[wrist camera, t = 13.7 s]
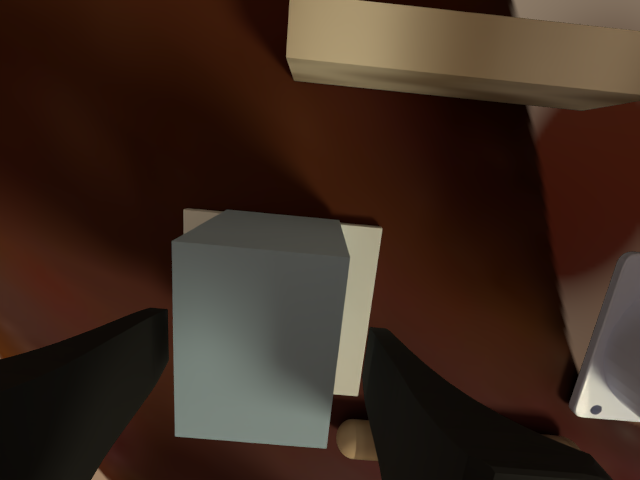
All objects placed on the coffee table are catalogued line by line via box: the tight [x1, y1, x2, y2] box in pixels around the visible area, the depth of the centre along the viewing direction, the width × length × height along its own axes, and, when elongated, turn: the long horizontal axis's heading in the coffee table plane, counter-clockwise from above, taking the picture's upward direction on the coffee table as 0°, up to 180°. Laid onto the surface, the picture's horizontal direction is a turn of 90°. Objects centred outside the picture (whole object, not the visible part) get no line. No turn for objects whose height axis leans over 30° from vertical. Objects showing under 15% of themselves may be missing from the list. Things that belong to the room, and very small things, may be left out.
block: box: [172, 209, 350, 448], centre depth 11 cm, size 6×4×5 cm
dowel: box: [336, 419, 581, 461], centre depth 15 cm, size 12×2×2 cm, turn 85°
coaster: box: [183, 208, 382, 396], centre depth 14 cm, size 8×8×1 cm
